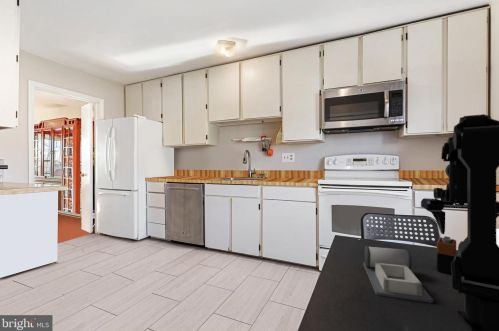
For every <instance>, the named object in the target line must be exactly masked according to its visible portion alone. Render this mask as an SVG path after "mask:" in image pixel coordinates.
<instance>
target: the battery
mask: <svg viewBox="0 0 499 331" xmlns="http://www.w3.org/2000/svg"><path fill="white" fill-rule="evenodd" d="M454 256H457V240H456V239H454V238H451V237H450V236H446V235H444V236H443V237H438V239H437V241H436V271H437V272H439V273H443V274H448V275H451V276H452V272H451V262H452V261H453V259H454Z"/></svg>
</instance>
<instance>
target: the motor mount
mask: <svg viewBox="0 0 499 331" xmlns="http://www.w3.org/2000/svg"><path fill="white" fill-rule="evenodd" d="M412 261H413V260H412V256H411V252H410V251H409V249H403V248H402V249H401V248H400V249H399V248H390V247H377V246H376V247H375V246H368V245H365V246H364V261H363V263H362V264H363V267H364V270H365V272H366V275H367V277H368V279H369V282H370V283H371V286H372V288H373V290H374V293H375V295H376V296H380V297H381V296H382V297H389V298H396V299H402V300H410V301H416V302H424V303H431V304H434V298H432V296H431V295H430V294H429V293H428V291H426V289H425V288H424V286H423V285H422V283H421V281H420V280H419V279H418V278H417V276H416V274H414V273H413V271H412V268H413V266H412V265H413V264H412Z"/></svg>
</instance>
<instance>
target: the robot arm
mask: <svg viewBox="0 0 499 331" xmlns="http://www.w3.org/2000/svg"><path fill="white" fill-rule="evenodd" d="M440 157H441V160H443V162H449V164H447V165H446V167H445V170H444V173H445V175H446V176H447V177H448V183H446V189H443V187H434V188H433V198H428V197H427V198H425V197H424V198H422V199H421V201H420V208H422V209H425V210H426V211H427V212H430V213H431V215H432V216H433V218H434V220H435V221H436V224H437V226H438V228H439V229H438V230H439V232H440V233H441V235H444V234H445V233H446V211H443V210H444V209H461V210H463V209H466V212H467V214H466V215H467V222H466V223H467V226H466V227H467V229H466V230H467V235H466V236H467V237H466V238H464V239H463V241H460V242H459V243H458V246H457V255H456V256H454V259H453V261H452V262H451V272H452V275H451V287H452V289H454V290H455V291H457V293H458V294H464V311H463V310H456V312H455V313H456V315H457V316H458V317H459V318H460V319H461V320H462V321H463V322H464V324H466V326H467V327H469V328H468V329H470V330H471V331H499V289H498V288H499V245H498V244H497V219H498V217H499V201H498V200H497V170H498V168H499V120H497V119H494V118H492V117H491V116H490V114H485V113H483V114H476V115H475V114H474V115H473V114H472V115H470V114H469V115H463V117H459V122H458V123H457V124H455V125H454V126H453V134H452V136H450V137H448V139H447V142H444V143H443V146H442V147H441V156H440ZM462 280H463V281H462ZM464 281H467V282H464ZM469 282H472V283H469ZM475 283H476V284H475ZM477 283H478V284H477ZM479 284H483V285H479ZM485 285H486V286H485ZM487 285H488V286H487ZM489 286H493V287H489ZM494 287H497V288H494Z"/></svg>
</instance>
